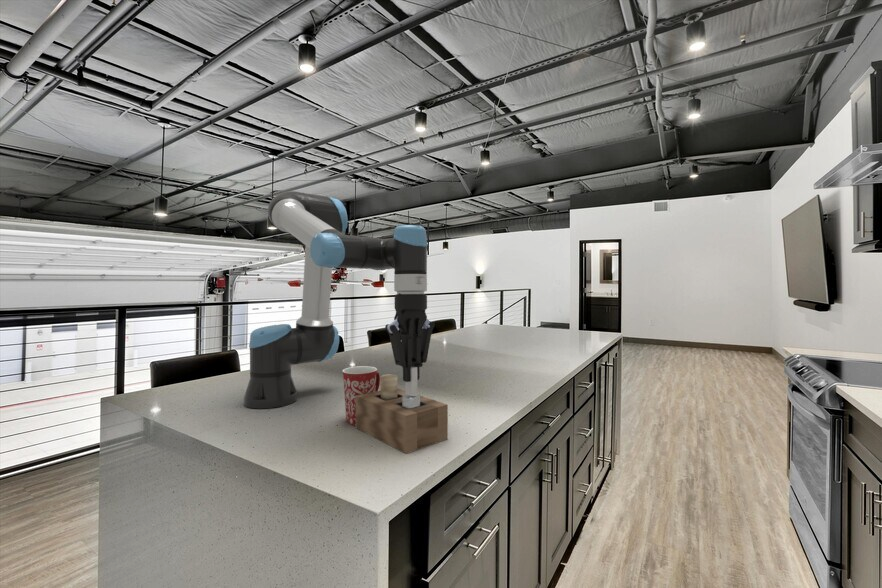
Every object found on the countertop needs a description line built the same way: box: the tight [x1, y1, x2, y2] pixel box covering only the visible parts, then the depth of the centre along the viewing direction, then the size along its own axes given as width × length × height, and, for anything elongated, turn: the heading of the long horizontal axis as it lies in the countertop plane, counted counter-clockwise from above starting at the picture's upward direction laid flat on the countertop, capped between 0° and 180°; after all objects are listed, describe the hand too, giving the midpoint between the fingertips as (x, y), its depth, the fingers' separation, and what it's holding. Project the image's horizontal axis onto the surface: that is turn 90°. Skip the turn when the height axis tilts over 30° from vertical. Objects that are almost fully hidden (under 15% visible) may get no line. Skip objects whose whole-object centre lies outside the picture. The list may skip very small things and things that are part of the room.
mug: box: [341, 365, 381, 425], centre depth 105 cm, size 13×9×14 cm
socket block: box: [355, 387, 449, 454], centre depth 94 cm, size 21×12×8 cm, turn 42°
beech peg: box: [379, 373, 398, 400], centre depth 97 cm, size 4×4×8 cm
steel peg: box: [402, 393, 421, 409], centre depth 91 cm, size 4×4×8 cm
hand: (411, 394), depth 90 cm, fingers closed
